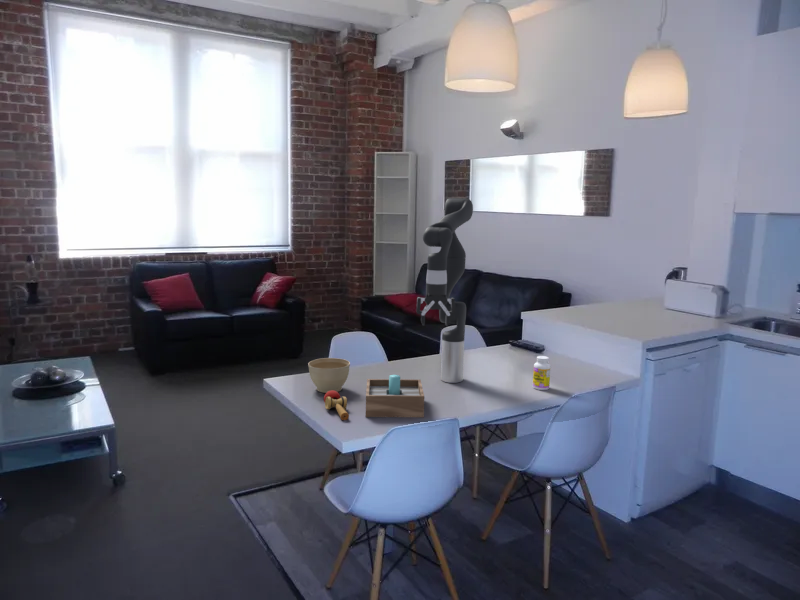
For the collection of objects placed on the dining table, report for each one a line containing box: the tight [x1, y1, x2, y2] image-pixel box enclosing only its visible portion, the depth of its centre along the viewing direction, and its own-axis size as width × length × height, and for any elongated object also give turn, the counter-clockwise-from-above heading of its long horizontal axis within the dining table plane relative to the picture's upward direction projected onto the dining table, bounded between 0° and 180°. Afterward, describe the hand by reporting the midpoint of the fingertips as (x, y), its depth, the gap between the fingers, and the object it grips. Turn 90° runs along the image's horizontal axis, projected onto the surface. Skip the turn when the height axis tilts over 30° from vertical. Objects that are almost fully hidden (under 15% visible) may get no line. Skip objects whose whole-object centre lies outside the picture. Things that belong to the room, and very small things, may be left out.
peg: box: [388, 374, 401, 395], centre depth 216 cm, size 4×4×11 cm
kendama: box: [323, 390, 350, 421], centre depth 210 cm, size 8×6×18 cm
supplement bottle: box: [532, 355, 552, 391], centre depth 241 cm, size 7×7×13 cm
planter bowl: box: [307, 357, 351, 394], centre depth 233 cm, size 16×16×11 cm
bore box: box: [365, 378, 425, 418], centre depth 215 cm, size 20×20×8 cm
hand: (435, 325), depth 222 cm, fingers open, 8 cm apart
